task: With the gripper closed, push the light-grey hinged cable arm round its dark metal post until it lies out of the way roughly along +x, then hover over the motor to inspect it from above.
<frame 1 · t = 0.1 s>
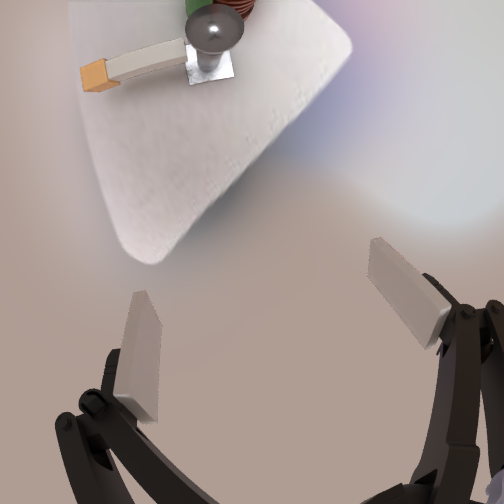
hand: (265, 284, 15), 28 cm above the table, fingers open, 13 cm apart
motor: (219, 5, 27), on the table
cable arm: (135, 63, 21), point 11 cm above the table, hinge at 0.0°
post: (207, 61, 31), on the table
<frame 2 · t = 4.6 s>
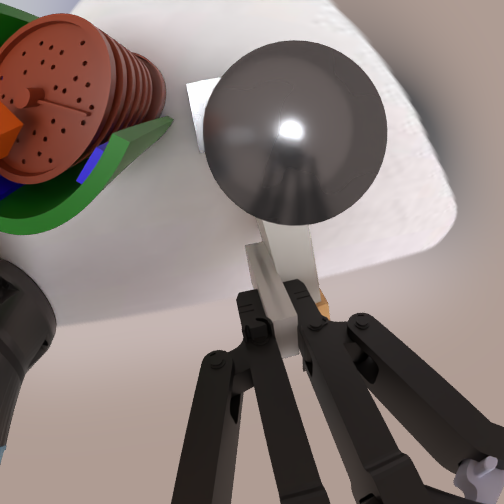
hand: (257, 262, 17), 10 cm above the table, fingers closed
motor: (118, 104, 19), on the table
cable arm: (286, 252, 16), point 11 cm above the table, hinge at 7.0°, touching gripper
post: (228, 110, 21), on the table
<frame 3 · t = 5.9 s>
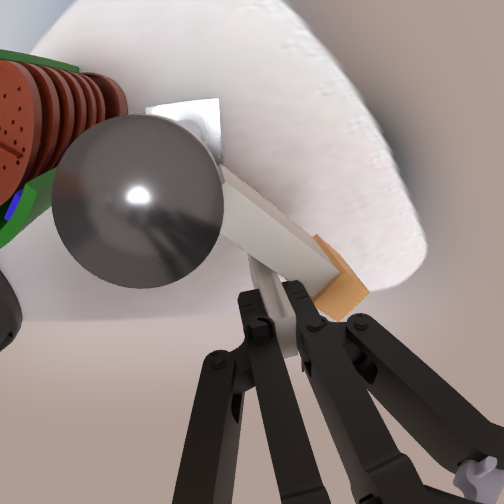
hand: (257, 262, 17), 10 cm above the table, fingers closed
motor: (85, 121, 19), on the table
cable arm: (284, 243, 15), point 11 cm above the table, hinge at 47.1°, touching gripper
post: (184, 136, 22), on the table
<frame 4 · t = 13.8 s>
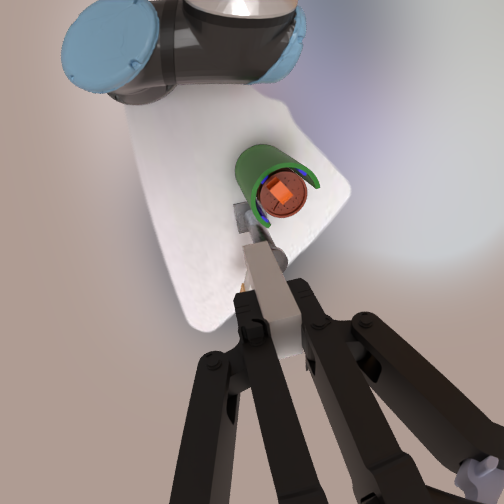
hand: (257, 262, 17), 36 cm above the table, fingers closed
motor: (259, 168, 51), on the table
cable arm: (253, 279, 50), point 11 cm above the table, hinge at 70.4°
post: (250, 215, 56), on the table
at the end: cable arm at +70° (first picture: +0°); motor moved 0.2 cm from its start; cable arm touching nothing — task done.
